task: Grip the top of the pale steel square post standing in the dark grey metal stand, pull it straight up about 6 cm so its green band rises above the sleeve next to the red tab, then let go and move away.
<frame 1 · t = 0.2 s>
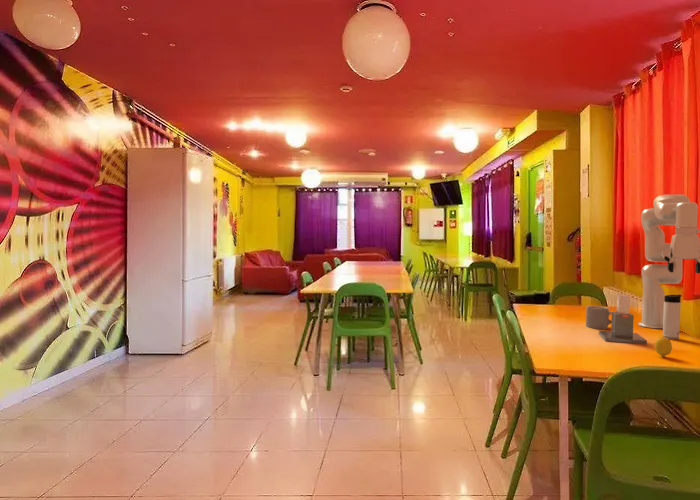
hand: (684, 272, 207), 31 cm above the table, tool pointing down, fingers open, 9 cm apart
coffee mug: (600, 327, 247), on the table
steel post: (622, 315, 221), point 11 cm above the table, slide at 0.0 cm
post stand: (621, 338, 221), on the table
lemon: (662, 357, 190), on the table
travel mug: (671, 338, 223), on the table
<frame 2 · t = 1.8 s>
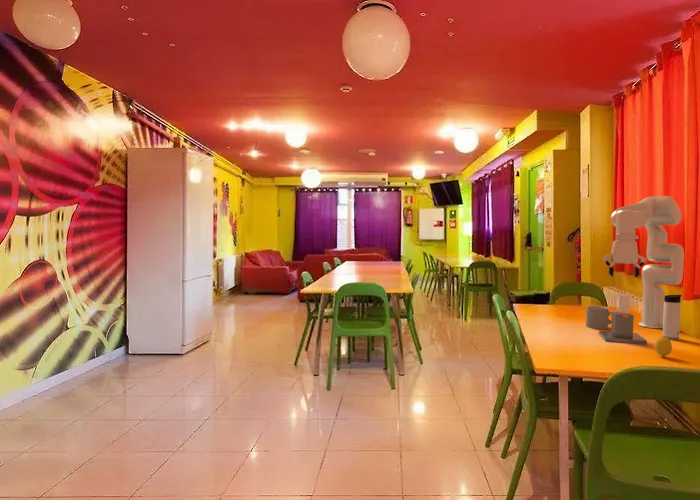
hand: (623, 276, 220), 28 cm above the table, tool pointing down, fingers open, 9 cm apart
nothing on the table moved.
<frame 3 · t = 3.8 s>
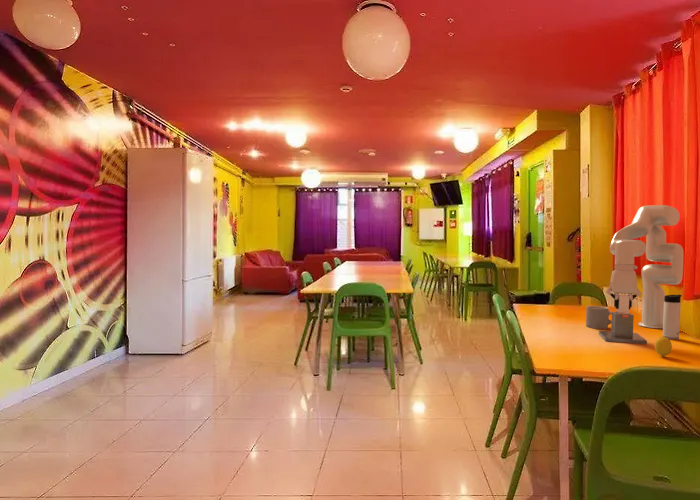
hand: (622, 308, 221), 14 cm above the table, tool pointing down, fingers closed on steel post, 4 cm apart
steel post: (622, 315, 221), point 11 cm above the table, slide at 0.0 cm, touching gripper
everything else where it was.
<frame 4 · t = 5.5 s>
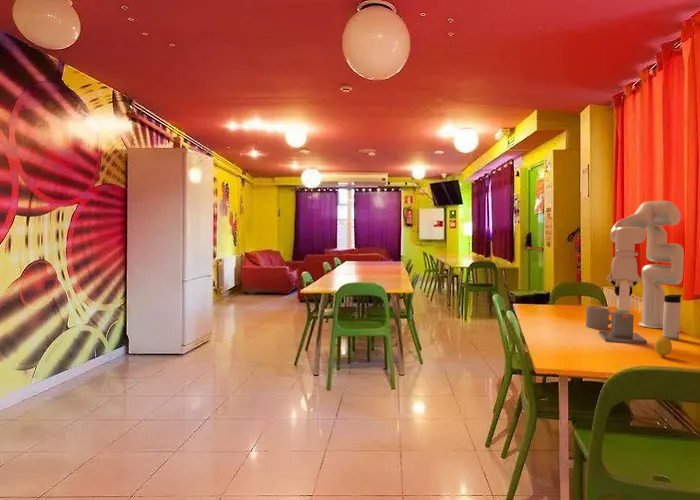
hand: (623, 295, 220), 20 cm above the table, tool pointing down, fingers closed on steel post, 4 cm apart
steel post: (622, 302, 221), point 17 cm above the table, slide at 5.9 cm, touching gripper
everything else where it was.
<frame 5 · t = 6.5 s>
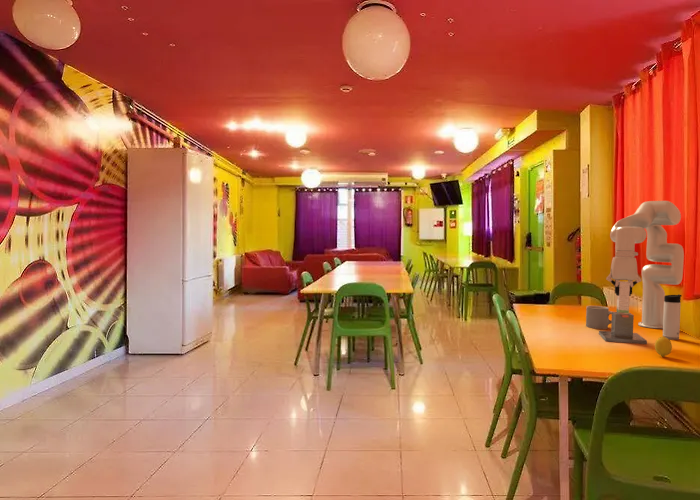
hand: (623, 295, 220), 20 cm above the table, tool pointing down, fingers closed on steel post, 4 cm apart
steel post: (622, 302, 221), point 17 cm above the table, slide at 6.0 cm, touching gripper
everything else where it was.
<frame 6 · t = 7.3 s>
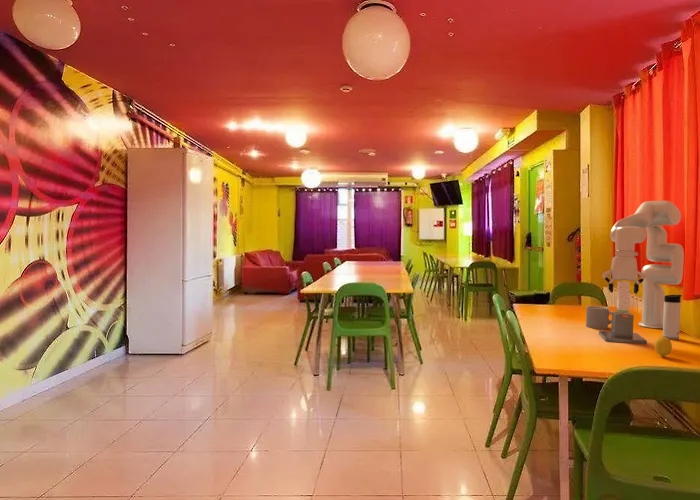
hand: (623, 292, 220), 21 cm above the table, tool pointing down, fingers open, 9 cm apart
steel post: (622, 301, 221), point 17 cm above the table, slide at 6.0 cm
everything else where it was.
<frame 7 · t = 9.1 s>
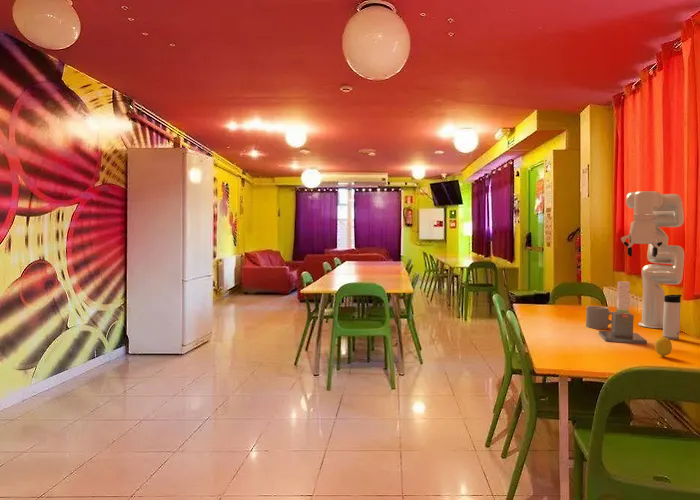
hand: (642, 256, 224), 37 cm above the table, tool pointing down, fingers open, 9 cm apart
nothing on the table moved.
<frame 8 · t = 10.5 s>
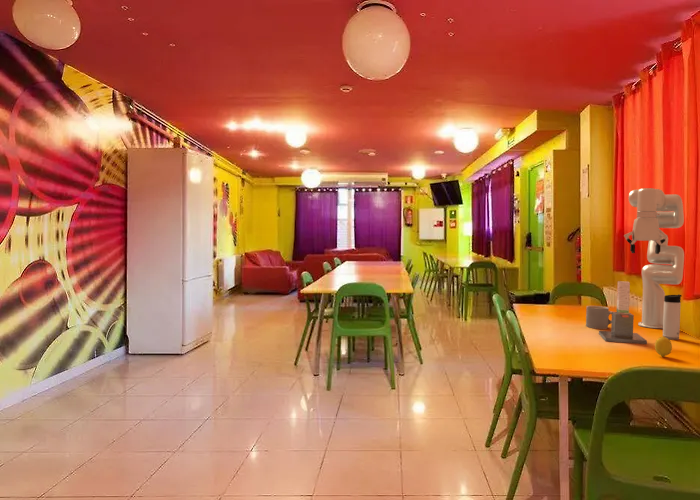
hand: (645, 253, 224), 38 cm above the table, tool pointing down, fingers open, 9 cm apart
nothing on the table moved.
at the end: steel post slide at 6.0 cm; the gripper is holding nothing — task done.
